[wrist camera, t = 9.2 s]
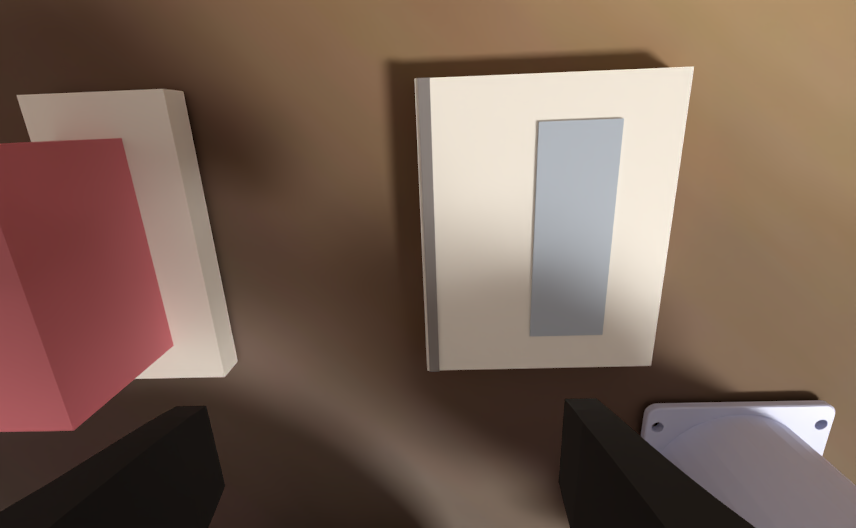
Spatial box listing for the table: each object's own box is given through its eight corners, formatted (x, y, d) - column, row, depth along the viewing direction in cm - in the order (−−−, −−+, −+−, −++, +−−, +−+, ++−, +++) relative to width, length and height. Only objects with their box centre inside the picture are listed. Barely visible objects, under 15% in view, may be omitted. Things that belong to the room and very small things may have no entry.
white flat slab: (637, 350, 18) (652, 367, 17) (427, 355, 19) (427, 372, 17) (674, 70, 15) (695, 66, 14) (416, 81, 15) (414, 78, 14)
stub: (237, 361, 19) (146, 470, 13) (125, 364, 19) (-15, 473, 13) (183, 91, 15) (25, 72, 9) (47, 96, 16) (-191, 82, 10)
